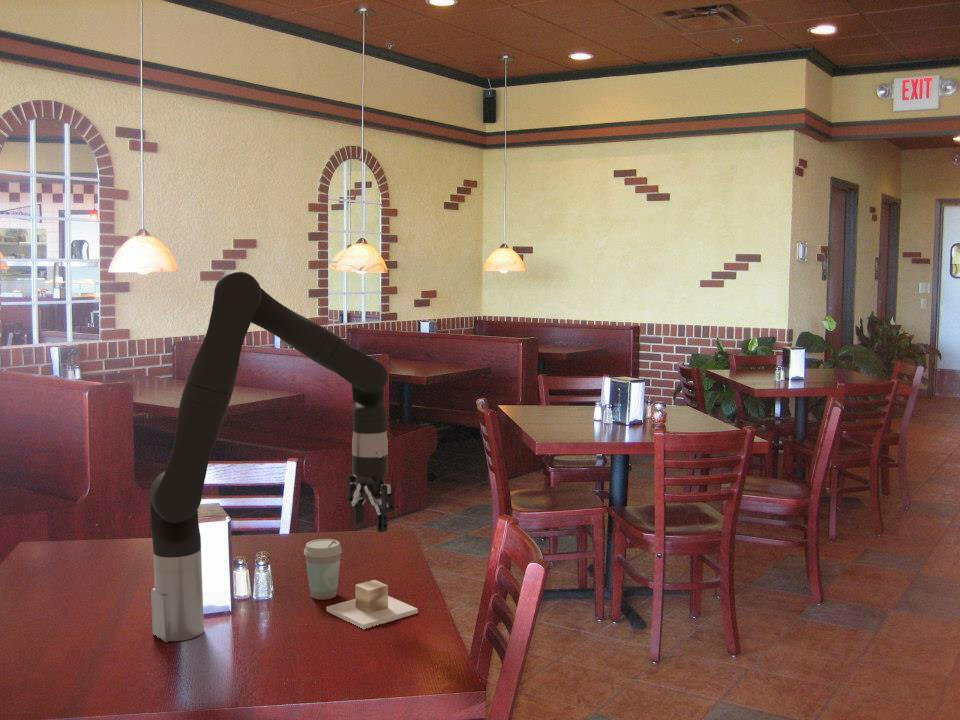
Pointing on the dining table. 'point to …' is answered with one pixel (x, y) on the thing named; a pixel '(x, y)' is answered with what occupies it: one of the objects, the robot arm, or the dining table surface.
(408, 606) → the plate
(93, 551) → the dining table surface
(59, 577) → the dining table surface
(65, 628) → the dining table surface
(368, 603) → the maple cube
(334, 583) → the coffee cup
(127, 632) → the dining table surface
